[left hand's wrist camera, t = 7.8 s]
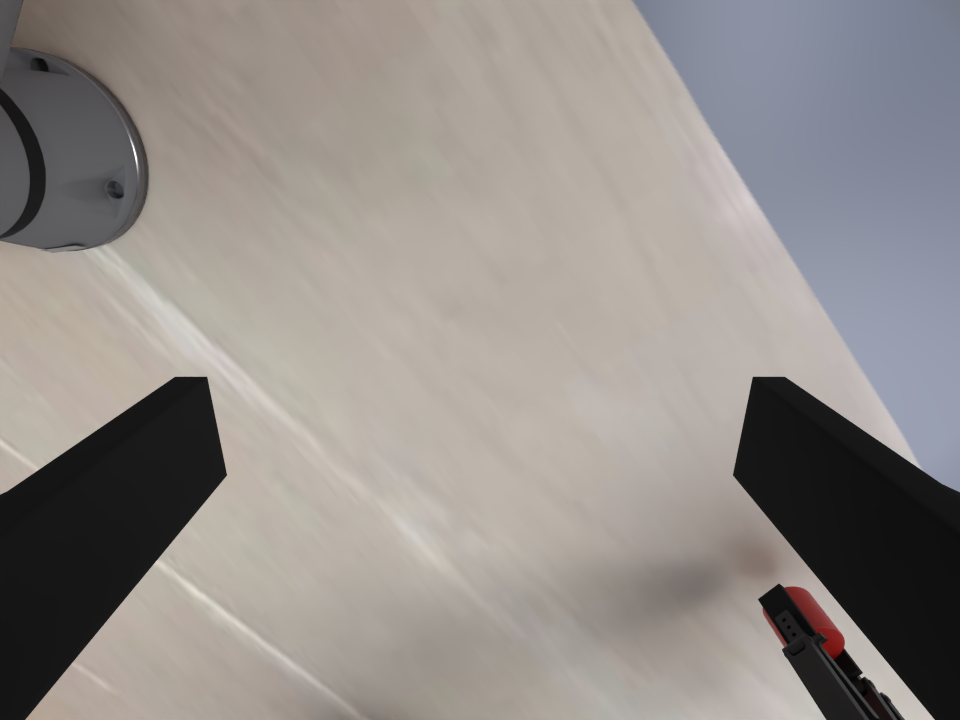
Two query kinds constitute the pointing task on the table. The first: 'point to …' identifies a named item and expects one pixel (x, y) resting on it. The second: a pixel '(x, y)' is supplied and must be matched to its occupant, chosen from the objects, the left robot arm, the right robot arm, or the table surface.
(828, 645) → the red cylinder
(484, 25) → the table surface
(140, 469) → the left robot arm
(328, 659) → the table surface
